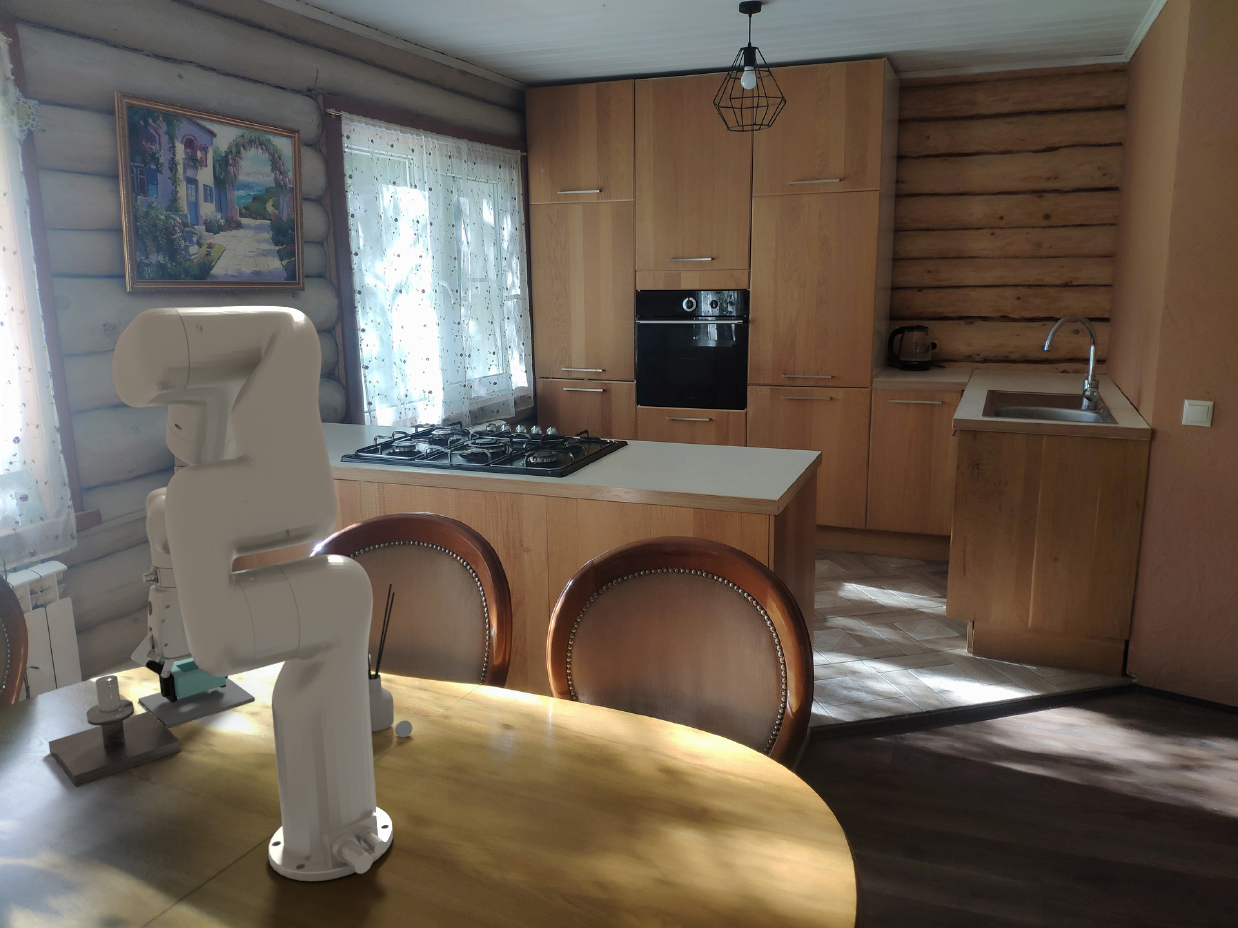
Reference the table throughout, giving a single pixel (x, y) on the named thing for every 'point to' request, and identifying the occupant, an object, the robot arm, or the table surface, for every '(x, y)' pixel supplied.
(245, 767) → the table surface
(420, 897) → the table surface
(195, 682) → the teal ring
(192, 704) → the slate mat
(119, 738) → the ring stand
